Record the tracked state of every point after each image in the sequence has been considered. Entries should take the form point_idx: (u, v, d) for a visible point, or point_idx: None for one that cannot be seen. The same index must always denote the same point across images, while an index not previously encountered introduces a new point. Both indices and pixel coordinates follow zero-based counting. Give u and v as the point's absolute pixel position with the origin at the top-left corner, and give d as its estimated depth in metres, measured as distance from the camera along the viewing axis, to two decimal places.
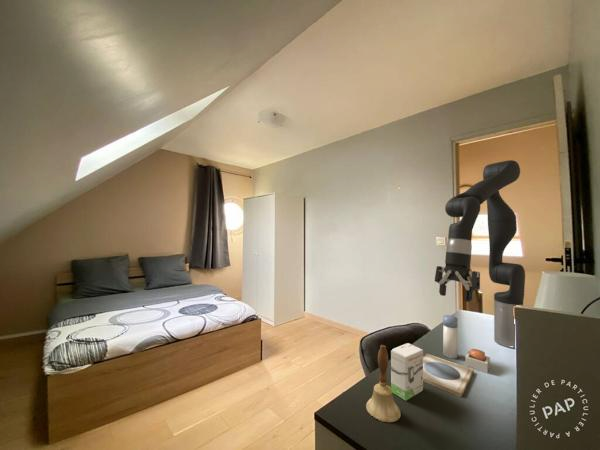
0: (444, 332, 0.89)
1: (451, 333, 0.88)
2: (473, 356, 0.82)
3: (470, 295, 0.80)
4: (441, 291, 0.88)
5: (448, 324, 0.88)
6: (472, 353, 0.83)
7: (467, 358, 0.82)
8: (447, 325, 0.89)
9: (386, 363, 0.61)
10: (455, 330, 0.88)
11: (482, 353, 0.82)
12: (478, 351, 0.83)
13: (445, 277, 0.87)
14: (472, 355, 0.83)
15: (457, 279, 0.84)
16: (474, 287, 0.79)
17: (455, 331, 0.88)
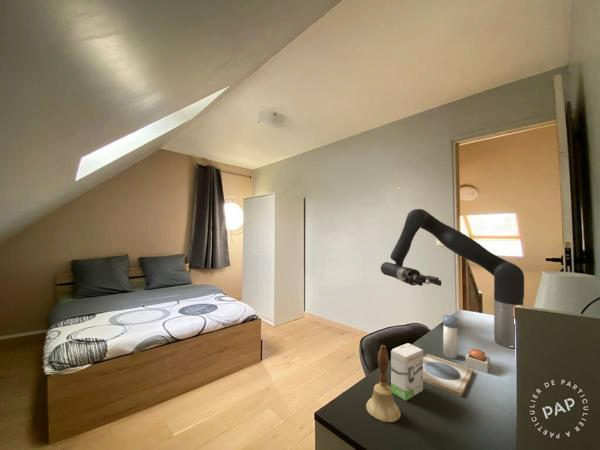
0: (444, 332, 0.89)
1: (451, 333, 0.88)
2: (473, 356, 0.82)
3: (416, 282, 1.02)
4: (438, 284, 1.03)
5: (448, 324, 0.88)
6: (472, 353, 0.83)
7: (467, 358, 0.82)
8: (447, 325, 0.89)
9: (386, 363, 0.61)
10: (455, 330, 0.88)
11: (482, 353, 0.82)
12: (478, 351, 0.83)
13: (426, 283, 1.08)
14: (472, 355, 0.83)
15: None
16: None
17: (455, 331, 0.88)
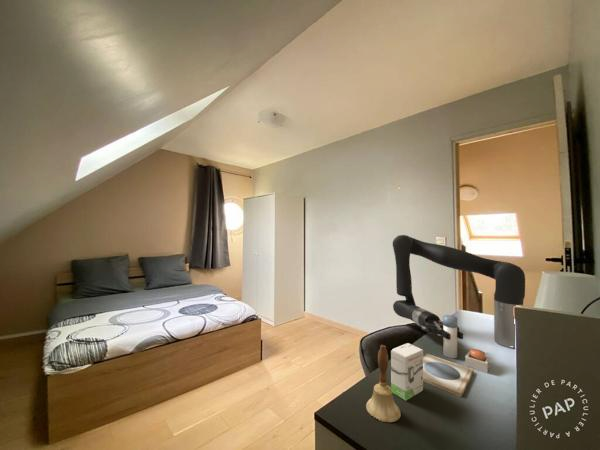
0: None
1: (451, 333, 0.88)
2: (473, 356, 0.82)
3: (442, 335, 0.89)
4: (459, 337, 0.89)
5: (448, 324, 0.88)
6: (472, 353, 0.83)
7: (467, 358, 0.82)
8: (447, 325, 0.89)
9: (386, 363, 0.61)
10: (455, 330, 0.88)
11: (482, 353, 0.82)
12: (478, 351, 0.83)
13: None
14: (472, 355, 0.83)
15: None
16: None
17: (455, 331, 0.88)
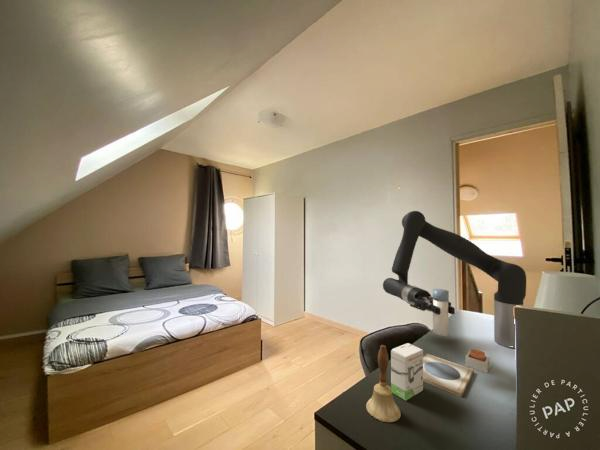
0: None
1: (441, 307, 0.79)
2: (473, 356, 0.82)
3: (431, 310, 0.80)
4: (450, 313, 0.80)
5: (438, 297, 0.79)
6: (472, 353, 0.83)
7: (467, 358, 0.82)
8: (437, 299, 0.80)
9: (386, 363, 0.61)
10: (446, 304, 0.79)
11: (482, 353, 0.82)
12: (478, 351, 0.83)
13: None
14: (472, 355, 0.83)
15: None
16: (422, 310, 0.82)
17: (446, 305, 0.79)
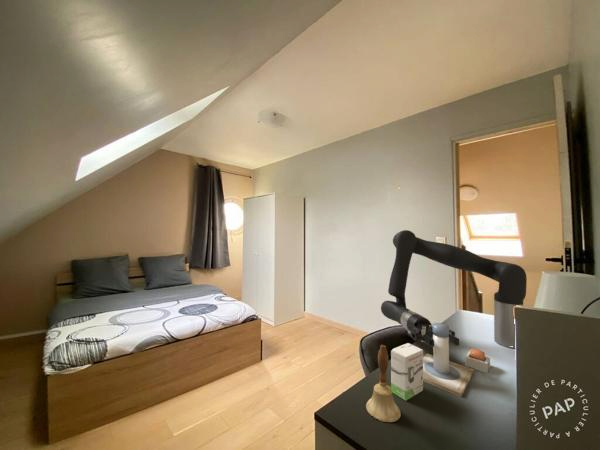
0: (434, 343, 0.78)
1: (441, 344, 0.76)
2: (473, 356, 0.82)
3: (425, 341, 0.78)
4: None
5: (438, 333, 0.77)
6: (472, 353, 0.83)
7: (467, 358, 0.82)
8: (437, 334, 0.77)
9: (386, 363, 0.61)
10: (446, 340, 0.76)
11: (482, 353, 0.82)
12: (478, 351, 0.83)
13: None
14: (472, 355, 0.83)
15: None
16: None
17: (446, 341, 0.76)
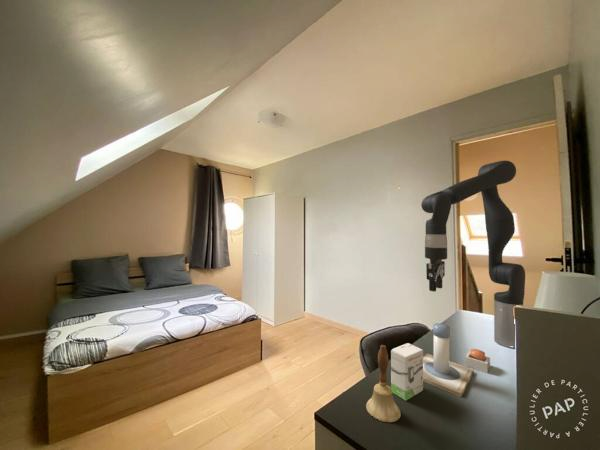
0: (435, 343, 0.78)
1: (442, 344, 0.76)
2: (473, 356, 0.82)
3: (430, 285, 0.90)
4: (436, 284, 0.96)
5: (439, 334, 0.77)
6: (472, 353, 0.83)
7: (467, 358, 0.82)
8: (438, 335, 0.77)
9: (386, 363, 0.61)
10: (447, 341, 0.76)
11: (482, 353, 0.82)
12: (478, 351, 0.83)
13: None
14: (472, 355, 0.83)
15: None
16: None
17: (447, 342, 0.76)
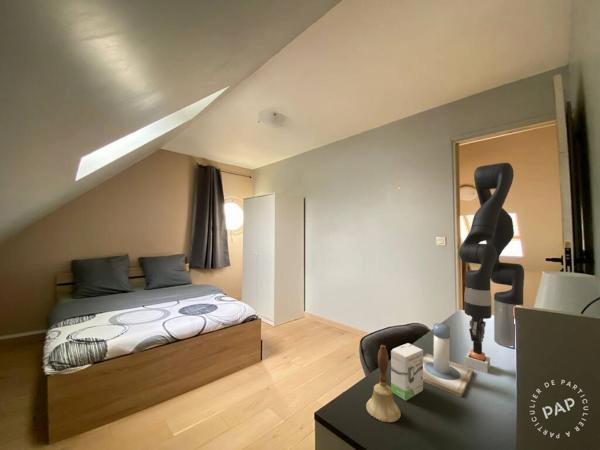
0: (435, 343, 0.78)
1: (442, 345, 0.76)
2: (473, 357, 0.82)
3: (475, 347, 0.82)
4: None
5: (439, 334, 0.76)
6: (472, 354, 0.83)
7: (467, 358, 0.82)
8: (438, 335, 0.77)
9: (386, 363, 0.61)
10: (447, 341, 0.76)
11: (482, 354, 0.82)
12: None
13: None
14: (472, 356, 0.83)
15: None
16: None
17: (447, 342, 0.76)
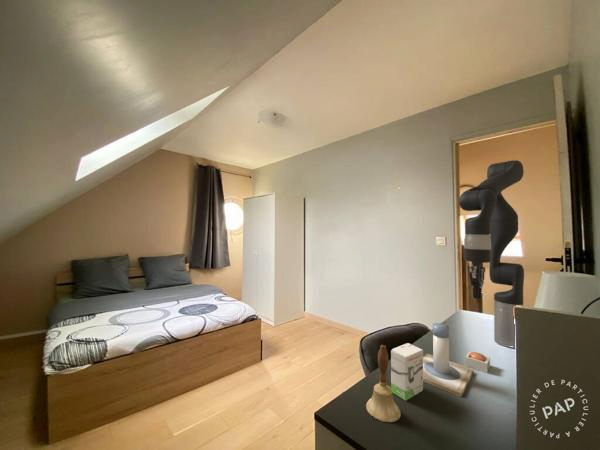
0: (434, 343, 0.78)
1: (441, 344, 0.76)
2: None
3: (475, 292, 0.83)
4: None
5: (438, 334, 0.77)
6: (472, 356, 0.83)
7: (467, 358, 0.82)
8: (437, 335, 0.77)
9: (386, 363, 0.61)
10: (446, 341, 0.76)
11: (482, 356, 0.82)
12: (478, 354, 0.83)
13: None
14: None
15: None
16: (471, 284, 0.82)
17: (446, 342, 0.76)
